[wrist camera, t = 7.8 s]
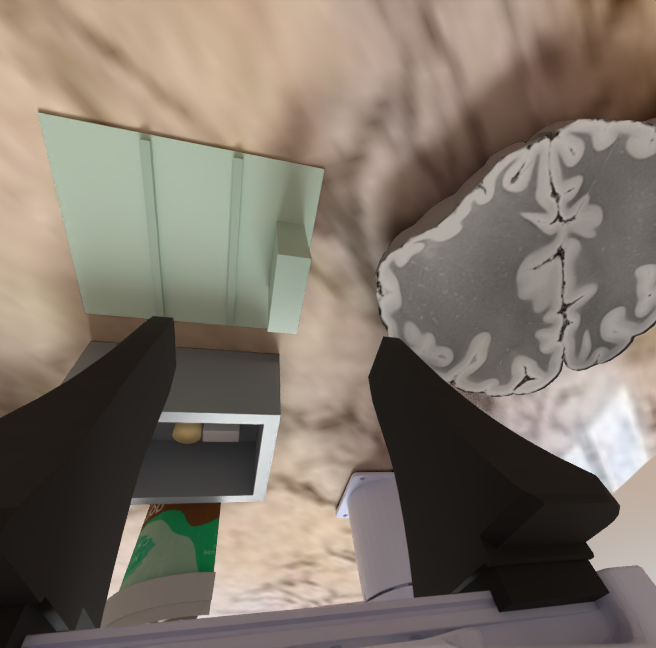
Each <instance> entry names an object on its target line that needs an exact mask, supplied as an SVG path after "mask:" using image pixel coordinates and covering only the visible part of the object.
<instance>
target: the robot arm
mask: <svg viewBox="0 0 656 648" xmlns="http://www.w3.org/2000/svg"><path fill="white" fill-rule="evenodd" d="M175 369H176V350H175V333H174V318H171V317H160V316H152V317H151V318H149V319H148V320H147V321H146V322H145V323H143V324H142V325H141V326H140V327H139V328H137V329H136V330H135V331H134V332H133V333H131V334H130V335H129V336H128V337H127V338H125V339H124V340H123V341H122V342H120V343H119V344H118V345H117V346H115V347H114V348H113V349H112V350H110V351H109V352H108V353H106V354H105V355H104V356H102V357H101V358H100V359H98V360H97V361H96V362H94V363H93V364H91V365H90V366H89V367H87V368H86V369H84V370H83V371H81V372H80V373H79V374H77V375H76V376H74V377H73V378H71V379H70V380H68V381H67V382H65V383H63V384H62V385H60V386H58V387H57V388H55V389H53V390H52V391H50V392H48V393H47V394H45V395H43V396H41V397H40V398H38V399H36V400H34V401H32V402H30V403H28V404H26V405H25V406H23V407H21V408H19V409H17V410H15V411H13V412H11V413H9V414H7V415H5V416H3V417H1V418H0V648H656V586H655V584H654V583H653V582H652V581H651V579H650V578H649V577H648V575H647V574H646V573H645V571H644V570H643V569H642V568H641V567H639V566H625V567H614V568H606V569H602V570H599V571H597V572H596V571H595V569H594V568H593V566H592V565H591V563H590V562H589V559H592V558H594V554H593V552H592V551H591V549H590V548H589V546H588V545H587V543H586V541H588V540H589V539H591V538H592V537H593V536H595V535H596V534H598V533H599V532H600V531H601V530H603V529H604V528H606V527H607V526H608V525H609V524H611V523H612V522H613V521H614V520H615V519H616V517H617V516H618V514H619V510H620V505H619V504H618V502H617V501H616V500H615V498H614V497H613V496H612V495H611V493H610V492H609V491H608V490H607V488H606V487H605V486H604V485H603V483H602V482H601V481H600V480H599V478H598V477H597V476H596V475H594V474H592V473H590V472H588V471H586V470H584V469H582V468H579V467H577V466H575V465H573V464H571V463H569V462H567V461H565V460H563V459H561V458H559V457H557V456H555V455H553V454H551V453H549V452H548V451H546V450H544V449H542V448H540V447H538V446H537V445H535V444H533V443H531V442H530V441H528V440H526V439H524V438H523V437H521V436H519V435H518V434H516V433H515V432H513V431H511V430H510V429H508V428H507V427H505V426H504V425H502V424H500V423H499V422H497V421H496V420H494V419H493V418H491V417H490V416H489V415H487V414H486V413H484V412H483V411H482V410H480V409H479V408H478V407H476V406H475V405H474V404H472V403H471V402H470V401H468V400H467V399H466V398H465V397H463V396H462V395H461V394H460V393H459V392H457V391H456V390H455V389H454V388H453V387H452V386H450V385H449V384H448V383H447V382H446V381H445V380H444V379H442V378H441V377H440V376H439V375H438V374H437V373H436V372H435V371H434V370H433V369H432V368H431V367H429V366H428V365H427V364H426V363H425V362H424V361H423V360H422V359H421V358H420V357H419V356H418V355H417V354H416V353H415V352H414V351H413V350H412V349H411V348H410V347H409V346H408V345H406V344H405V343H404V342H403V341H402V340H401V339H400V338H395V337H384V336H383V339H382V342H381V344H380V347H379V350H378V352H377V355H376V358H375V361H374V363H373V366H372V369H371V371H370V374H369V377H368V378H369V384H370V390H371V396H372V401H373V405H374V408H375V411H376V414H377V418H378V421H379V424H380V427H381V430H382V433H383V436H384V439H385V443H386V446H387V449H388V452H389V455H390V459H391V462H392V466H393V470H394V472H356V473H354V474H352V476H351V478H350V480H349V483H348V485H347V487H346V490H345V492H344V494H343V497H342V499H341V501H340V503H339V506H338V508H337V510H336V517H337V518H349V520H350V526H351V531H352V537H353V543H354V549H355V555H356V560H357V566H358V572H359V578H360V584H361V589H362V595H363V601H364V603H356V604H346V605H335V606H325V607H315V608H304V609H294V610H283V611H273V612H263V613H252V614H242V615H232V616H221V617H211V618H201V619H190V620H180V621H170V622H159V623H149V624H139V625H128V626H118V627H108V628H100V626H101V622H102V617H103V613H104V609H105V604H106V600H107V596H108V591H109V587H110V583H111V578H112V574H113V570H114V566H115V562H116V558H117V554H118V550H119V546H120V542H121V538H122V534H123V530H124V526H125V522H126V519H127V515H128V511H129V507H130V504H131V500H132V496H133V493H134V489H135V486H136V482H137V479H138V475H139V471H140V468H141V465H142V462H143V459H144V456H145V454H146V451H147V449H148V446H149V444H150V441H151V439H152V436H153V434H154V431H155V429H156V426H157V424H158V421H159V418H160V416H161V413H162V411H163V408H164V406H165V403H166V401H167V398H168V396H169V393H170V389H171V385H172V382H173V378H174V373H175Z"/></svg>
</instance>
